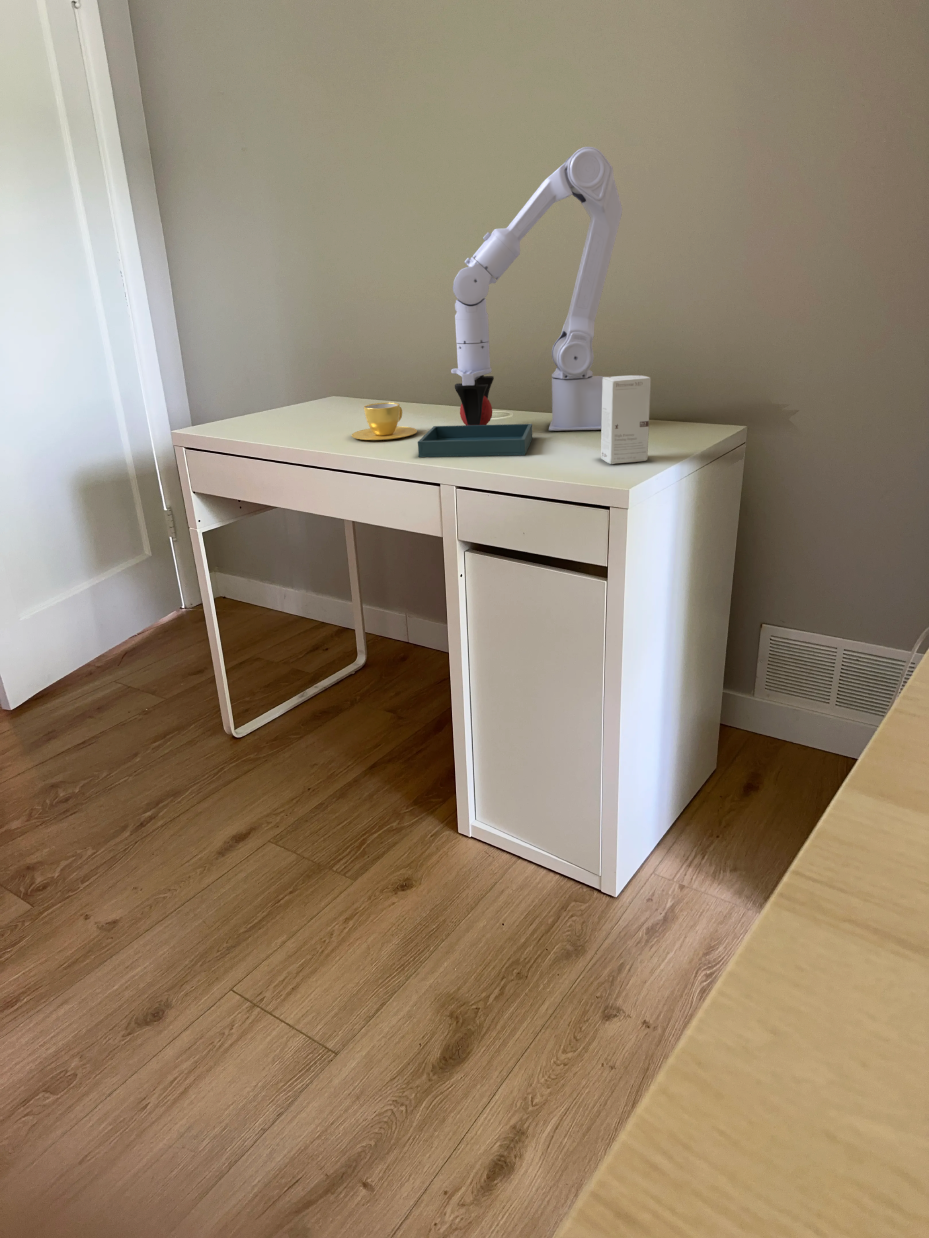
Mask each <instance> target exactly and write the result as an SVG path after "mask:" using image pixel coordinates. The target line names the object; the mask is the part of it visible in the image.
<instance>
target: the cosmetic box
mask: <svg viewBox="0 0 929 1238" xmlns="http://www.w3.org/2000/svg"><path fill="white" fill-rule="evenodd" d="M651 382H652V379H651V377H650V376H646V375H641V374H634V375H617V376H604V377H603V379H602V428H601V431H600V433H601V434H600V436H601V437H600V459H601V460H602V461H604V462H606V463H607V464H608V465H609V464H610V465H615V464H625V463H626V464H627V463H636V462H646V461H648V460H649V459H648V458H649V457H648V455H649V434H650V409H651V408H650V405H651V385H652V383H651Z"/></svg>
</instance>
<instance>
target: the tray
mask: <svg viewBox="0 0 929 1238" xmlns="http://www.w3.org/2000/svg"><path fill="white" fill-rule="evenodd" d="M532 440H533V423H512V424H511V423H510V424H509V423H508V424H487V425H465V424H464V425H433V426H432V427H431V428H430V429H429V430H428V431H427V432H426V433H425V434H424V435H423V436H422V437H421V438H420V439H419V440H417V451H418V458H443V457H444V458H446V457H448V458H449V457H450V458H451V457H501V456H508V457H509V456H511V457H512V456H526V454H527V451H528V450H529V447H530V445H531V443H532Z"/></svg>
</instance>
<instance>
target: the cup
mask: <svg viewBox="0 0 929 1238" xmlns="http://www.w3.org/2000/svg"><path fill="white" fill-rule="evenodd" d="M363 412H364V416H365V419H366V423H367V426H368V427H369V428H365V429H364V428H363V429H361V430H357V431H355V432H353V433H352V434H351V437H352V438H354V439H357V440H364V441H382V440H383V441H384V440H393V439H401V438H405V437H409V436H413V435H415V434H416V433H417V432H418V430H417V429H416V428H414V427H412V426H411V427H410V426H399V425H398V423H399V422H400V421H401V419H402V417H403V409H402V407H401V406H400V404H399V403H397V402H376V403H370V404H366V405H363Z"/></svg>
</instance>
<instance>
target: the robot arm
mask: <svg viewBox="0 0 929 1238" xmlns="http://www.w3.org/2000/svg"><path fill="white" fill-rule="evenodd" d="M616 183H617V182H616V180H615V174H614V167H613V166H612V164H611V162H609V160H608V158H606V156H605V155H604V153H603V152H602V151H601V150H600V149H598V148H597V147H595V146H583V147H581V148H579V149H577V150H576V151H575V152H574V153H573V154H571V155H570V156H569V157H568V158H566V160H565V161H564V162H563V164H562V165H560V166H559V167H558V168H557V169H556V170H555V171H553V172H552V173H551V174H550V175H549V176H547V177H546V178H545V179H544V180H543V181H542V182H541V183H540V185H539V186H538V187H537V188H536V190H535V191H534V192H533V194H532V195H531V196H530V198H529V199H528V200H527V202H526V203H525V204H524V205H523V206H522V207H521V209H520V210H519V212H518V213H517V214H516V215H515V217H514V218H513V219H512V220H511V222H510V223H508V226H507V227H503V228H501V227H499V228H495V229H493V230H492V232H491V233H490V232H489V231H487V232H486V233H485V234H484V236H483V237H482V239H483V240H484V241H483V243H482V244H481V245H480V246H479V248H478V249H477V250H476V251H475V252H474V253H473V254H472V256H471V257H467V258H466V259H465V260H464V264H465V266H466V267H464V268H461V269H460V270H458V272H457V274H456V276H455V277H454V280H453V285H452V291H453V294H454V296H455V297H456V298H457V299H455V303H454V310H455V312H456V313H455V315H454V322H455V323H454V324H455V342H456V358H457V359H456V360H457V361H456V362H457V368H456V367H453V368H452V369H451V370H450V372H451V374H452V375H455V374H457V375H458V376H459V377H461V381H462V382H461V383H459V382H458V383H455V384H454V390H455V392H456V394H457V395H458V397H459V400H460V402H461V404H462V405H463V408H464V412H465V417H466V420H467V423H468V425H479V424H480V421H481V414H482V403H483V398H484V396H485V397H486V398H487V399H488V400H489V395H490V390H491V387H492V385H493V382H494V379H495V377H494V376H493V375H489V374H491V373H492V371H493V369H492V367H491V352H490V351H491V349H490V348H491V347H490V327H489V325H490V324H489V313H488V312H487V299H486V298H487V295H488V294H489V289H490V285H492V284H496V283H497V282H498V281H499V279H500V278H501V277H502V276H503V275H504V274H505V273H506V271H507V270H508V269H509V268H510V267H511V265H512V264H513V263H514V262H515V260H516V259H517V258H518V257H519V256H520V255H521V241H522V240H523V238H524V237H525V236H526V235H527V234H529V232H530V230H531V229H532V228H533V227H534V226H535V225H536V224H537V223H538V221H540V219H541V218H542V217H543V216H545V214H546V212H547V211H549V209H550V208H551V207H552V206H553V205H554V204H555V203H557V202H560V201H562V200H564V199H567V198H569V197H571V196H573V197H574V198H575V199H576V200H578V201H579V202H580V204H581V205H582V207H583V208H584V210H585V212H586V213H587V215H588V216H589V219H590V221H589V225H588V228H587V233H586V237H585V241H584V245H583V250H582V253H581V258H580V262H579V266H578V271H577V275H576V279H575V283H574V286H573V291H572V296H571V298H570V299H571V300H570V304H569V308H568V311H567V316H566V318H565V321H564V322H563V324H562V325H563V326H562V329H561V333H560V335H559V336H558V338H557V339H556V341H555V342H554V344H553V345H552V347H551V348H552V349H551V359H552V362H553V363H554V365H555V366H556V368H555V370H554V371H553V373H551V408H552V409H551V414H552V415H551V419H552V420H551V421H550V424H549V426H548V431H550V432H554V431H555V432H557V431H558V432H559V431H597V430H599V431H600V430H601V428H602V379H603V377H605V376H604V375H594V371H592V370H591V368H592V366H593V364H594V359H595V353H594V349H593V341H594V337H595V322H596V317H597V313H598V311H599V306H600V303H601V298H602V294H603V290H604V286H605V283H606V278H607V274H608V270H609V266H610V263H611V258H612V255H613V251H614V247H615V242H616V239H617V234H618V231H619V226H620V224H621V223H620V222H621V219H622V215H623V207H622V206H623V205H622V202H621V197H620V195H619V191H618V188H617V184H616Z"/></svg>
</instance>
